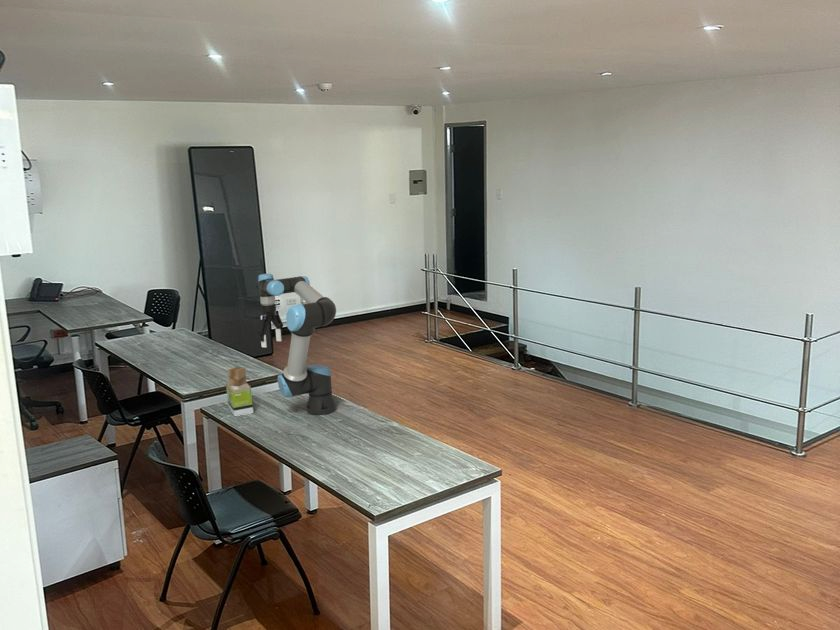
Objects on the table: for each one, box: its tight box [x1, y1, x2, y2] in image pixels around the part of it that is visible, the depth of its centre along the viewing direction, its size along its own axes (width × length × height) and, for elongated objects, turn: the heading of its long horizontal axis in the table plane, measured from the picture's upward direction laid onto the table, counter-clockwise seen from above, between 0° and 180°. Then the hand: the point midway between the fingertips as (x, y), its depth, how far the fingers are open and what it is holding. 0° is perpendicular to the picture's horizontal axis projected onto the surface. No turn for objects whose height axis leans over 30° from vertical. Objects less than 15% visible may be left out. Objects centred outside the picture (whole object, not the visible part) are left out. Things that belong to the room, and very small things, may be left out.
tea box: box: [225, 381, 255, 417], centre depth 385 cm, size 15×10×15 cm
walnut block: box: [227, 366, 247, 386], centre depth 383 cm, size 6×6×8 cm
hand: (271, 344), depth 393 cm, fingers open, 13 cm apart
